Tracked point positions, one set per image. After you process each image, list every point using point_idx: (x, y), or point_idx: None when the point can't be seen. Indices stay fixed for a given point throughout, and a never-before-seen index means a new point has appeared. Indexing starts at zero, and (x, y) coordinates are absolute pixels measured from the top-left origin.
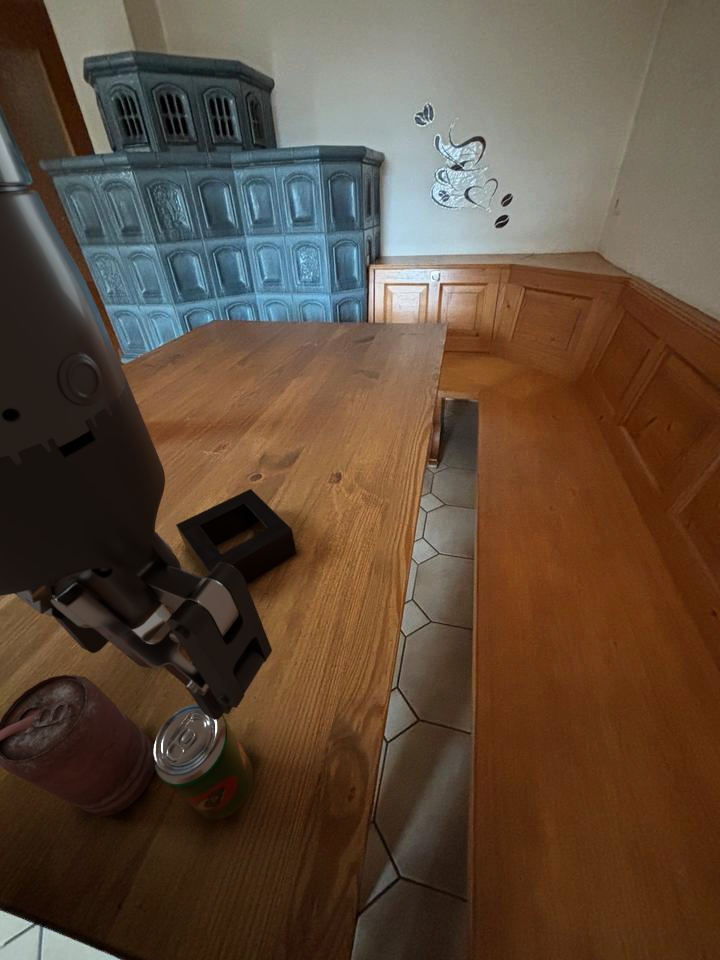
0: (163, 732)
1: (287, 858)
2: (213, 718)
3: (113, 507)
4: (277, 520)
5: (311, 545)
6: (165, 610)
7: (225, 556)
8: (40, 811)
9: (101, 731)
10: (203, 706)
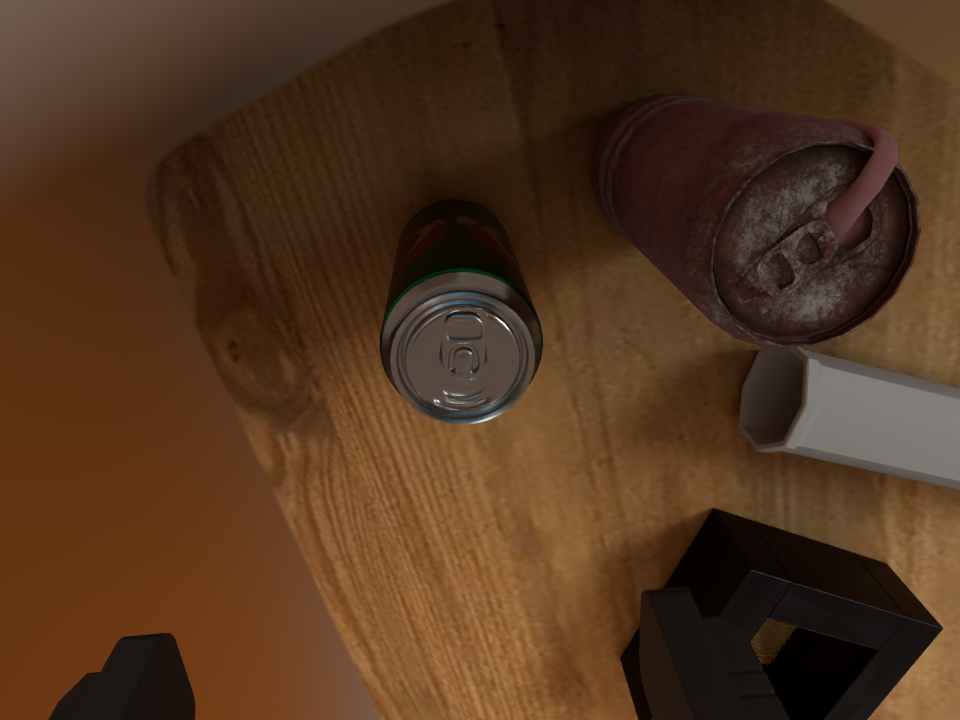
0: (522, 341)
1: (276, 224)
2: (115, 649)
3: None
4: None
5: (599, 686)
6: (805, 455)
7: (752, 618)
8: (769, 40)
9: (671, 268)
10: (94, 715)
